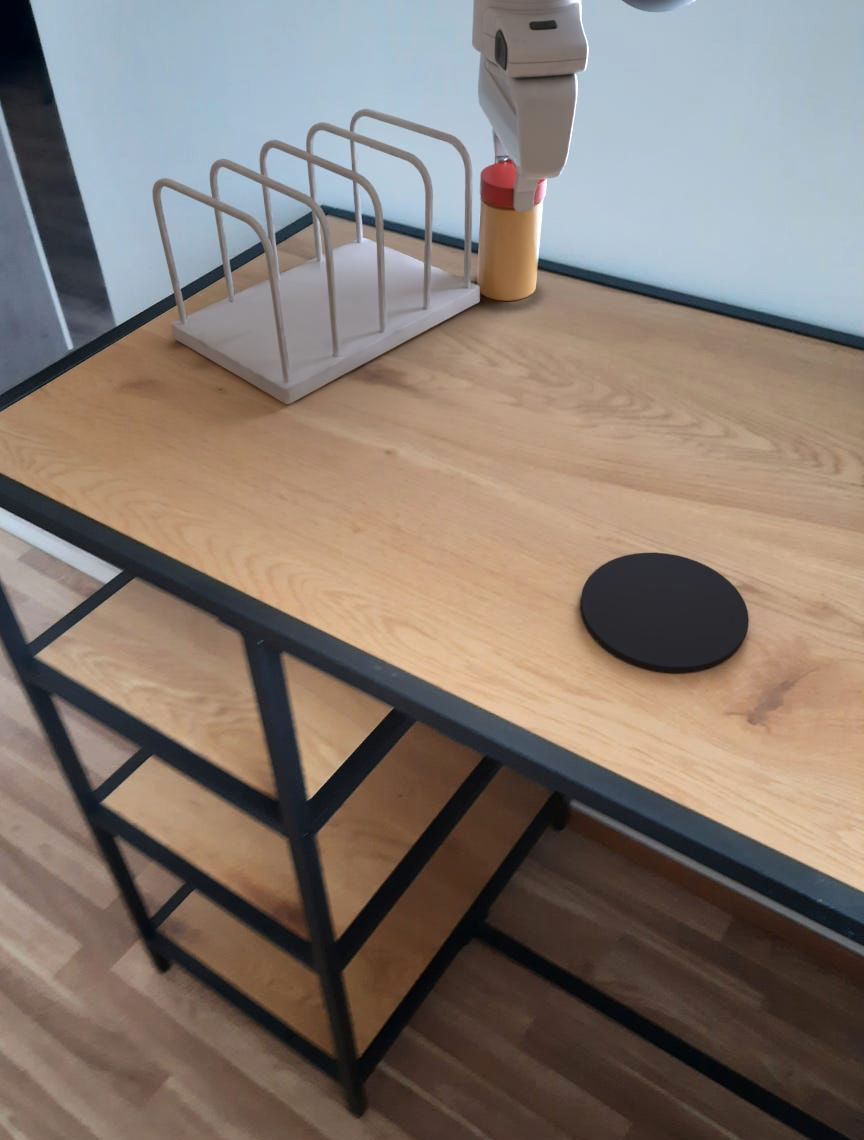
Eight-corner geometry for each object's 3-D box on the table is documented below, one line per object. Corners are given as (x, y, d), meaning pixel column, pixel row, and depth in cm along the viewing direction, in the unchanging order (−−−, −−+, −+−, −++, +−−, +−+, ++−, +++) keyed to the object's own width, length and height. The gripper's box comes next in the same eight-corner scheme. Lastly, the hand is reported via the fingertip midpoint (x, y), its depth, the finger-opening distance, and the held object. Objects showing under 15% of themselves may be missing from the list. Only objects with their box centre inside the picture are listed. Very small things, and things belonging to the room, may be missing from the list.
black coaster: (693, 544, 68) (695, 538, 68) (780, 650, 61) (782, 644, 60) (553, 578, 66) (554, 571, 66) (626, 691, 59) (627, 685, 58)
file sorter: (362, 253, 102) (354, 94, 91) (481, 306, 93) (489, 138, 82) (172, 339, 91) (136, 170, 79) (287, 409, 82) (265, 229, 70)
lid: (470, 201, 88) (471, 183, 86) (491, 176, 91) (492, 157, 90) (534, 211, 86) (536, 192, 85) (553, 184, 90) (555, 166, 88)
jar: (520, 267, 98) (528, 163, 91) (545, 293, 95) (556, 186, 87) (467, 279, 97) (470, 174, 89) (491, 305, 93) (496, 198, 86)
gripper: (465, -9, 85) (460, 153, 95) (514, 60, 71) (502, 240, 82) (533, -13, 86) (521, 148, 96) (595, 55, 72) (573, 235, 82)
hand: (512, 191), depth 89 cm, fingers closed on lid, 6 cm apart
